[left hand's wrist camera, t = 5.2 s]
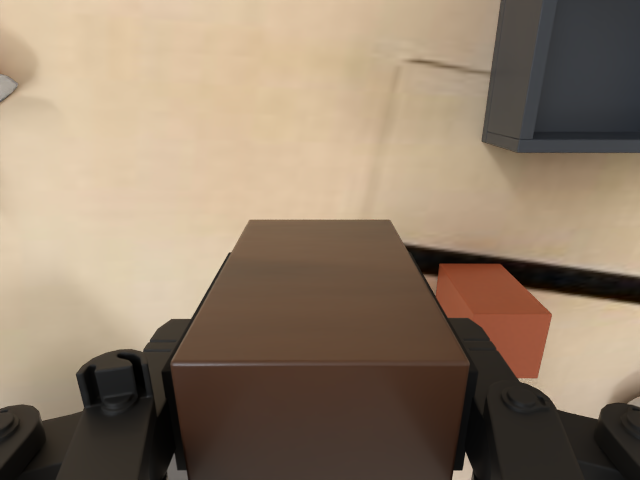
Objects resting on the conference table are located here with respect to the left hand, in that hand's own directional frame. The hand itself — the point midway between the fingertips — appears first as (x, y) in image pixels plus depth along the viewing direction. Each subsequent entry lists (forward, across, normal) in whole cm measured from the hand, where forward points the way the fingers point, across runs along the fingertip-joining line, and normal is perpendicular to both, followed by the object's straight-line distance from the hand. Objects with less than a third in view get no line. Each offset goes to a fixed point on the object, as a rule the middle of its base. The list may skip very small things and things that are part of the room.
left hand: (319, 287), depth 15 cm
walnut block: (0, 0, 0) cm, 0 cm away
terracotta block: (+17, -12, +9) cm, 23 cm away
